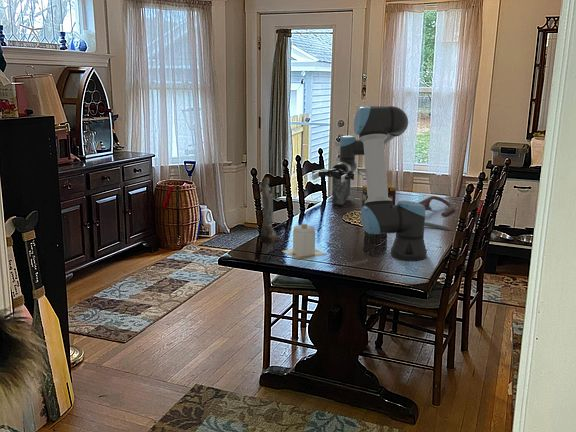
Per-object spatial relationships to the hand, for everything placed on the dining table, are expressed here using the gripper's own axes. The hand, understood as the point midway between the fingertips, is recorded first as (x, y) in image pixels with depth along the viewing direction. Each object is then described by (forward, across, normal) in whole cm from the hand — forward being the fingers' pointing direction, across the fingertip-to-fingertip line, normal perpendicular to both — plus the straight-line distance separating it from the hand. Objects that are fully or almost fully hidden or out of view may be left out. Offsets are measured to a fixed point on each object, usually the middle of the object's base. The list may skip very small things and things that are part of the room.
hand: (327, 178), depth 246 cm
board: (+22, +3, -30) cm, 37 cm away
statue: (+8, +25, -30) cm, 40 cm away
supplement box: (-62, -10, -30) cm, 70 cm away
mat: (+4, 0, -30) cm, 30 cm away
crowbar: (-46, -31, -31) cm, 63 cm away
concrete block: (-79, +17, -30) cm, 86 cm away
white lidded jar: (+22, +3, -29) cm, 36 cm away
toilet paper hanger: (-79, -38, -31) cm, 93 cm away
